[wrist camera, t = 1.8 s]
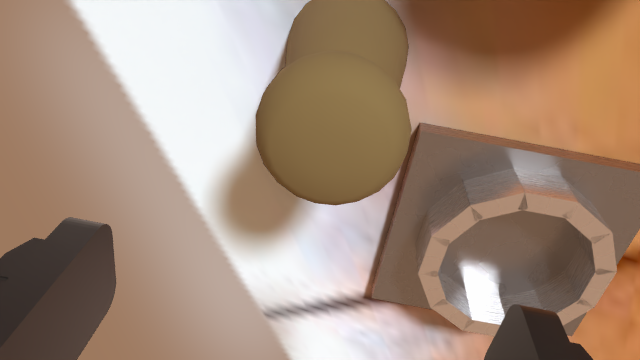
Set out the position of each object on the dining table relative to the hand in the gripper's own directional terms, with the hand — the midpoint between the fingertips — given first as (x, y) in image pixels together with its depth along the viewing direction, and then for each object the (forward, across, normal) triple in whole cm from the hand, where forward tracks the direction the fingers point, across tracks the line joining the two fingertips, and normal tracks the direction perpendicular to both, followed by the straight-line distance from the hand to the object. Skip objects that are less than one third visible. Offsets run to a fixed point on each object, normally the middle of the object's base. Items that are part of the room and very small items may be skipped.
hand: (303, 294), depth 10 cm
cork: (+17, 0, 0) cm, 17 cm away
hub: (+17, -11, +9) cm, 22 cm away
